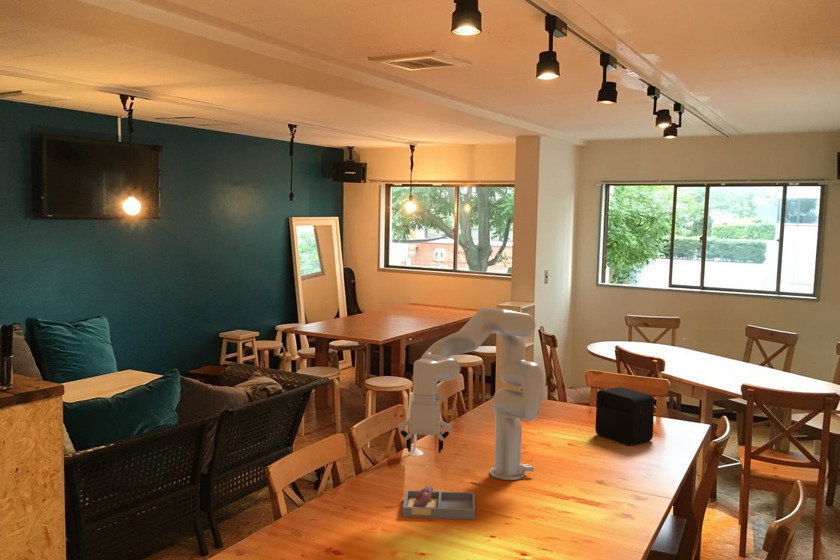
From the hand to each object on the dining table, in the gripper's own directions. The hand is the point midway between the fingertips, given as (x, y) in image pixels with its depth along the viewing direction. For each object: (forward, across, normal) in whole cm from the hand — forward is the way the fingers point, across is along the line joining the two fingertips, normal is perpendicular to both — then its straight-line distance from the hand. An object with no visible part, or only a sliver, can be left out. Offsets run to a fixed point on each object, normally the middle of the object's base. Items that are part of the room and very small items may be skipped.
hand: (424, 451), depth 225 cm
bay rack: (+18, -5, +1) cm, 19 cm away
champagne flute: (+19, +6, -52) cm, 56 cm away
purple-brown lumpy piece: (+18, 0, +1) cm, 18 cm away
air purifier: (+20, -82, -81) cm, 117 cm away
